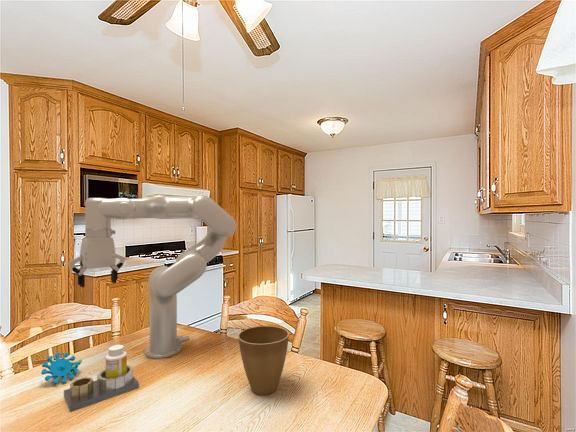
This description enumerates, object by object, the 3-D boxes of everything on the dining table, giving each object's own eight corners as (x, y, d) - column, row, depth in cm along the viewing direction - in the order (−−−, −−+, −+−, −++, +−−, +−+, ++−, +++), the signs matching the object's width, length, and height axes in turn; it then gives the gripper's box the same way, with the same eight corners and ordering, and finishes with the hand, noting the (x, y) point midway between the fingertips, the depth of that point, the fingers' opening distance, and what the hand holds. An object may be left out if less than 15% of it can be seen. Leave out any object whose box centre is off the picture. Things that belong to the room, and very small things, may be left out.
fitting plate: (128, 375, 102) (128, 361, 102) (139, 387, 95) (138, 372, 95) (63, 395, 90) (63, 379, 90) (70, 411, 83) (69, 394, 83)
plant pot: (295, 379, 99) (295, 328, 99) (278, 407, 85) (278, 347, 85) (251, 372, 104) (251, 322, 104) (228, 396, 90) (228, 339, 90)
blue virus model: (46, 386, 92) (40, 354, 97) (37, 397, 94) (32, 365, 99) (87, 375, 101) (79, 347, 106) (78, 385, 103) (72, 357, 108)
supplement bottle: (123, 374, 99) (123, 341, 99) (129, 381, 95) (129, 347, 95) (103, 381, 95) (103, 347, 95) (108, 388, 91) (108, 353, 91)
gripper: (121, 232, 118) (121, 279, 118) (65, 234, 106) (65, 286, 106) (129, 233, 113) (129, 282, 113) (71, 235, 100) (71, 290, 100)
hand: (98, 284), depth 109 cm, fingers open, 9 cm apart
